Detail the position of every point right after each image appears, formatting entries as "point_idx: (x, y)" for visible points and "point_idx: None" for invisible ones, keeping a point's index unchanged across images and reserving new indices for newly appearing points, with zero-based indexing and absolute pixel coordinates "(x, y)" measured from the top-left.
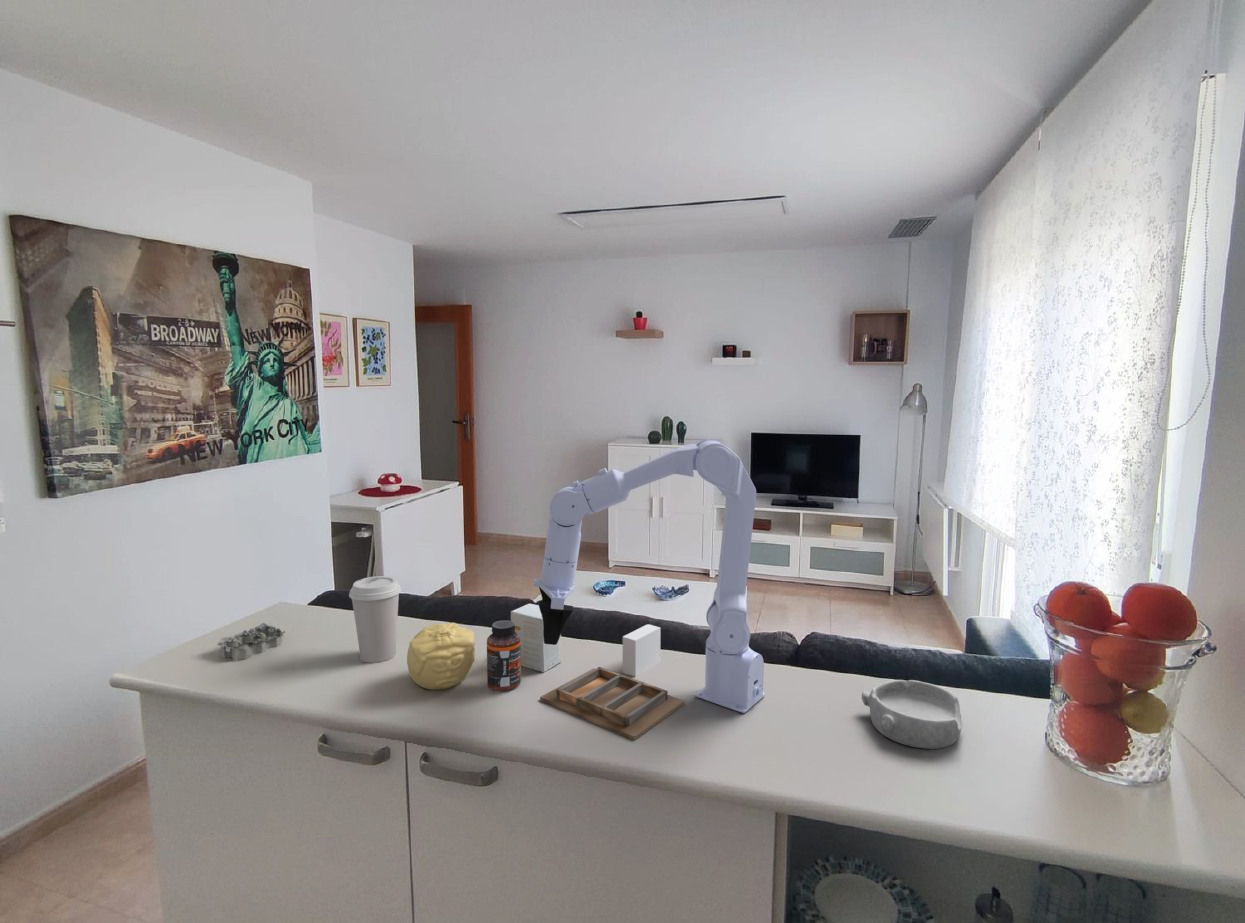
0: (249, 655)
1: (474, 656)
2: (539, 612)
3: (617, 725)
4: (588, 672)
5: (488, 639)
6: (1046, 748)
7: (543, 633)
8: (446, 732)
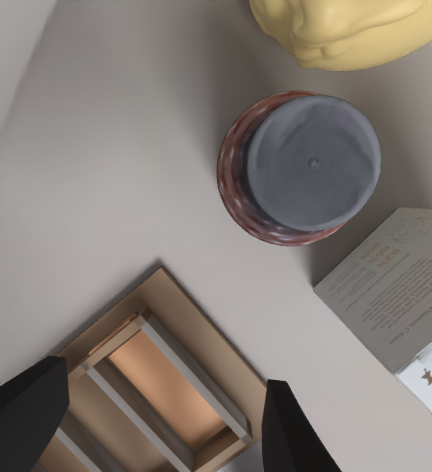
0: None
1: (321, 65)
2: None
3: None
4: None
5: (279, 95)
6: None
7: (4, 384)
8: (44, 33)
